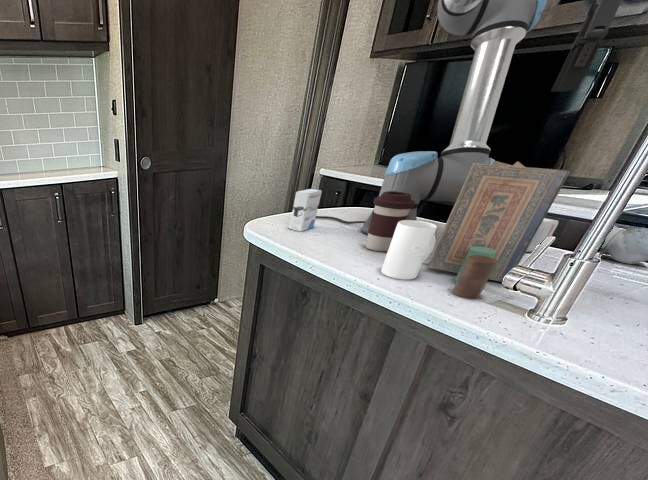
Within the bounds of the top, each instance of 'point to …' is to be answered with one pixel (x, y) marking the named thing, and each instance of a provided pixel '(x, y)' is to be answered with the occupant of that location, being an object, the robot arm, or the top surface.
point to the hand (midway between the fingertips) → (562, 91)
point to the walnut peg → (474, 276)
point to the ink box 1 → (305, 209)
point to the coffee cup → (387, 218)
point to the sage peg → (476, 251)
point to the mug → (409, 249)
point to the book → (497, 214)
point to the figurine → (626, 245)
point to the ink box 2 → (542, 233)
